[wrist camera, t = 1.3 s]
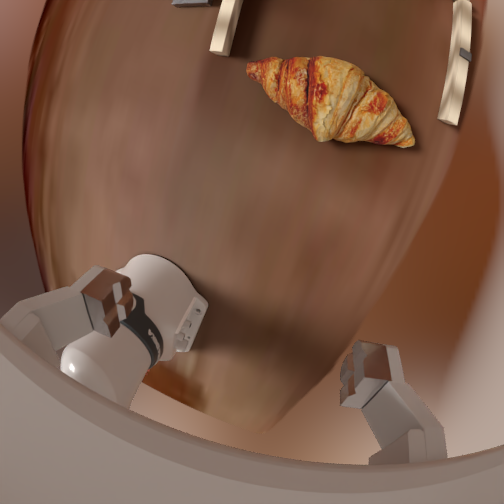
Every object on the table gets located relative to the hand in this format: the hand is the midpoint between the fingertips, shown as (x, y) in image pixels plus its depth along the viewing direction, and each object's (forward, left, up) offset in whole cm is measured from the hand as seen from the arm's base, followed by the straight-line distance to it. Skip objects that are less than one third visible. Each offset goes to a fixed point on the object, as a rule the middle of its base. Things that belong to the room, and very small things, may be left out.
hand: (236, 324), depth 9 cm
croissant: (+9, -3, -28) cm, 30 cm away
